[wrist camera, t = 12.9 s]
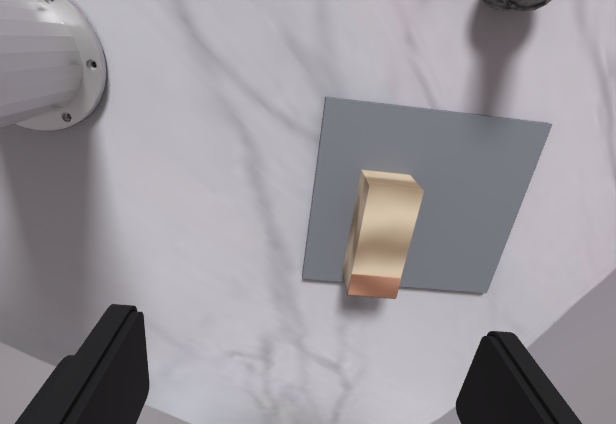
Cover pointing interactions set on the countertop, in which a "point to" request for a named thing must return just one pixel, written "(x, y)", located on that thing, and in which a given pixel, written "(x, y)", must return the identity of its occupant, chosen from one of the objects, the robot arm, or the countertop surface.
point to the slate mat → (424, 187)
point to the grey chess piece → (516, 4)
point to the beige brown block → (380, 233)
